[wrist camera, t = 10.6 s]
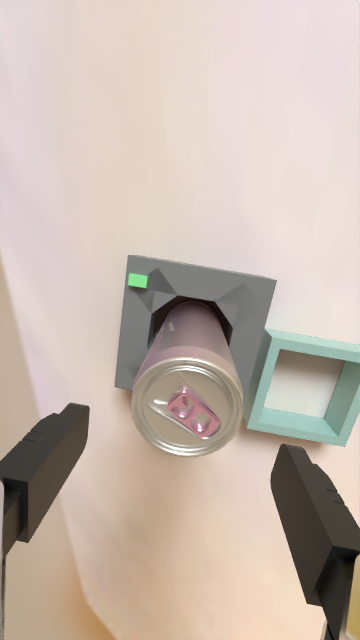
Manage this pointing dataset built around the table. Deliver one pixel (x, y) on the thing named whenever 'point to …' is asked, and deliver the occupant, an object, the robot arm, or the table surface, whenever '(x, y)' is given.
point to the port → (197, 282)
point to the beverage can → (188, 385)
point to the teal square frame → (347, 400)
